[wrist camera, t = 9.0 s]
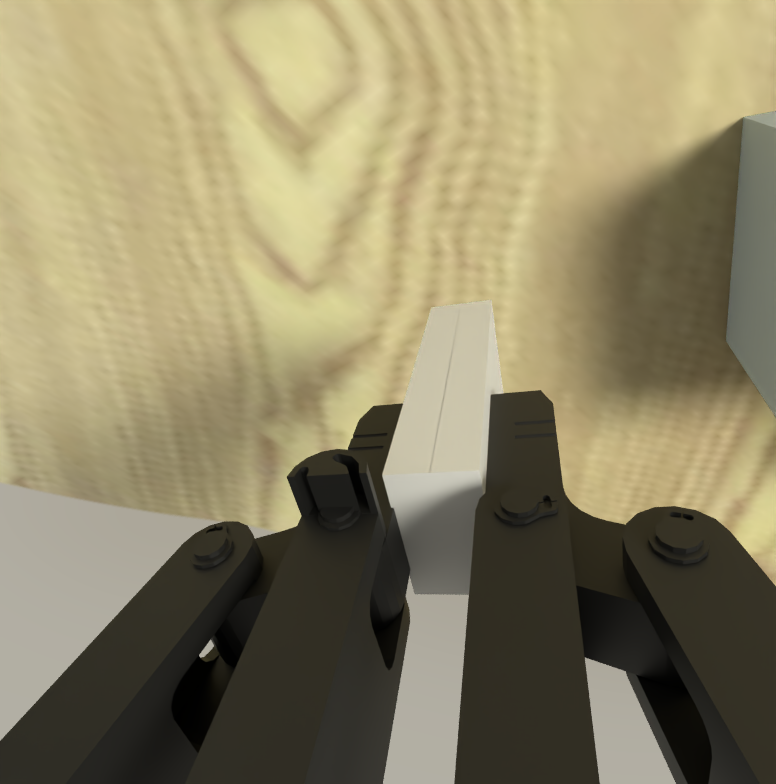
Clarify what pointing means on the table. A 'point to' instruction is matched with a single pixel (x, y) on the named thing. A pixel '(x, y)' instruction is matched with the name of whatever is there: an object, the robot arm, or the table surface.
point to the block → (755, 257)
